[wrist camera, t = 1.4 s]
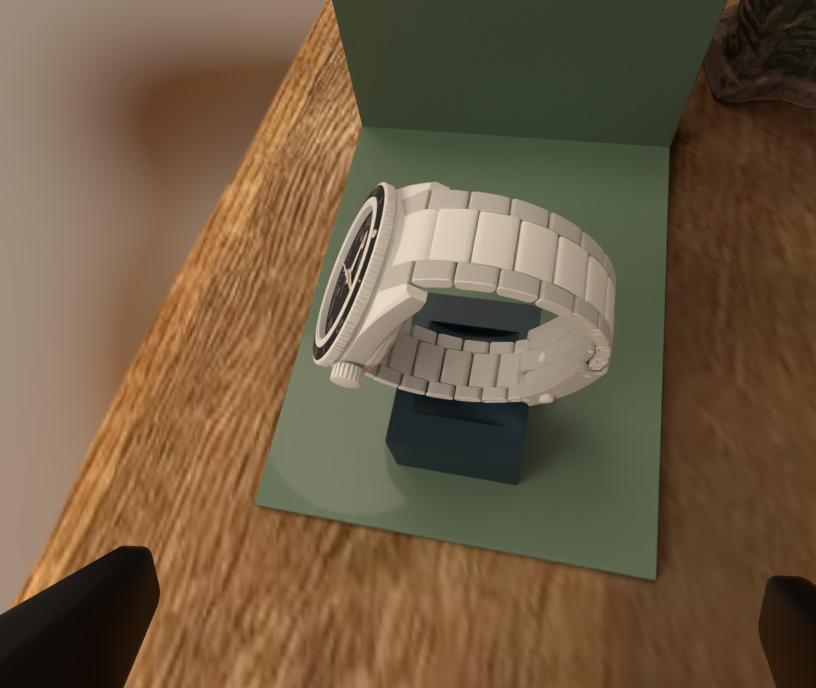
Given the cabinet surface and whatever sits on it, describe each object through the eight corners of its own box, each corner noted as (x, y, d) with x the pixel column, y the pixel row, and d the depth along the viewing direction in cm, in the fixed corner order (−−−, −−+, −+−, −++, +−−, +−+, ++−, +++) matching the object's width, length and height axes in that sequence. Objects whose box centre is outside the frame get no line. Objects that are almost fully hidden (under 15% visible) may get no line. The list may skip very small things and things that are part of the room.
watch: (378, 323, 25) (307, 121, 15) (582, 350, 23) (654, 147, 13) (345, 457, 23) (236, 327, 13) (567, 497, 21) (641, 384, 11)
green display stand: (653, 581, 20) (748, 556, 13) (257, 506, 23) (151, 450, 15) (668, 119, 28) (733, -57, 21) (372, 101, 30) (338, -62, 23)
